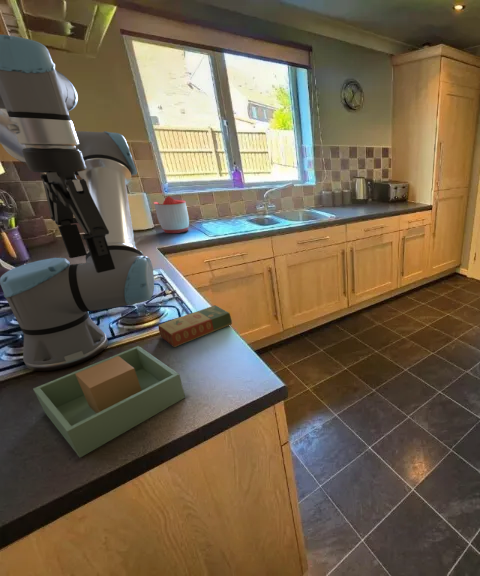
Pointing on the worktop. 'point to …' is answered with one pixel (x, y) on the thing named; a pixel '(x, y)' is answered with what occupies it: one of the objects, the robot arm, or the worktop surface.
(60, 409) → the basket
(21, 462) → the worktop surface
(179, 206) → the citrus juicer
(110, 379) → the box
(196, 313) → the carton
